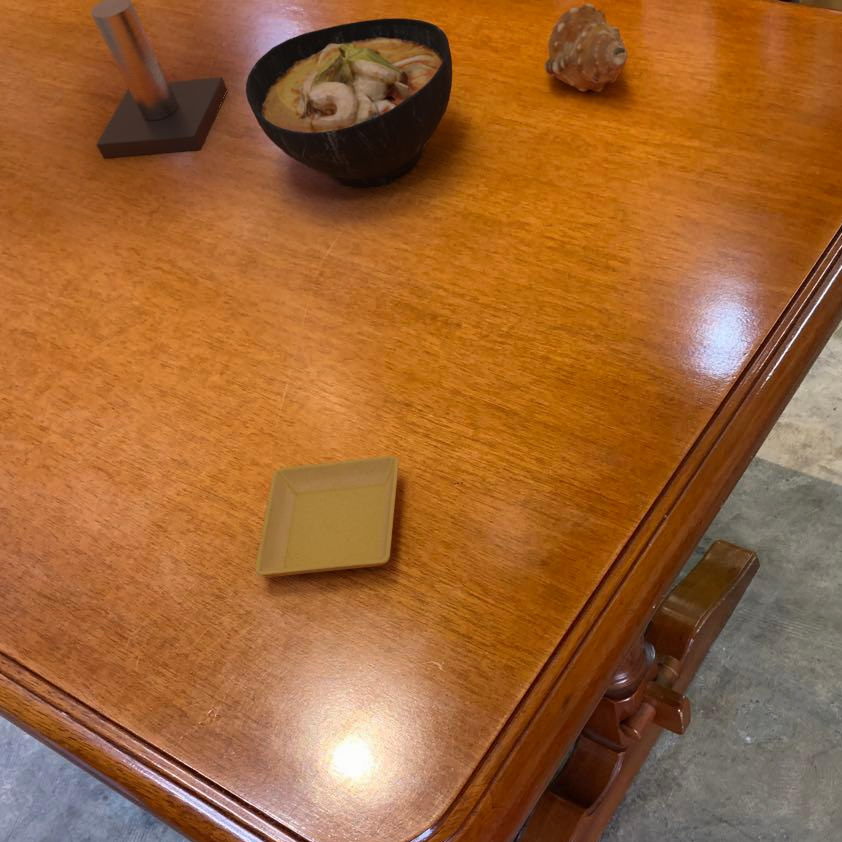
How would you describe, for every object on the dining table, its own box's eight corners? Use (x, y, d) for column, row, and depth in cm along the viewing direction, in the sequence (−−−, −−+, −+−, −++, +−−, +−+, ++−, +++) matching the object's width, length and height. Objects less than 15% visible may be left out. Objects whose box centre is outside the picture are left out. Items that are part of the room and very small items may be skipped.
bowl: (318, 107, 98) (281, 2, 90) (490, 103, 94) (468, -7, 86) (255, 221, 89) (208, 115, 81) (443, 222, 85) (413, 111, 77)
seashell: (650, 92, 97) (667, 23, 87) (586, 144, 96) (596, 80, 86) (584, 24, 98) (594, -52, 88) (520, 74, 97) (523, 3, 87)
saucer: (264, 593, 65) (252, 574, 63) (283, 486, 70) (273, 466, 68) (397, 581, 64) (388, 562, 62) (407, 474, 69) (399, 453, 67)
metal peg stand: (103, 158, 99) (39, 42, 89) (136, 99, 104) (78, -16, 95) (200, 150, 97) (145, 30, 88) (228, 90, 103) (178, -28, 93)
